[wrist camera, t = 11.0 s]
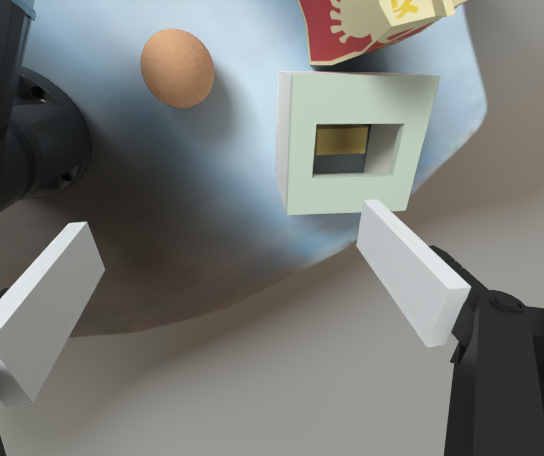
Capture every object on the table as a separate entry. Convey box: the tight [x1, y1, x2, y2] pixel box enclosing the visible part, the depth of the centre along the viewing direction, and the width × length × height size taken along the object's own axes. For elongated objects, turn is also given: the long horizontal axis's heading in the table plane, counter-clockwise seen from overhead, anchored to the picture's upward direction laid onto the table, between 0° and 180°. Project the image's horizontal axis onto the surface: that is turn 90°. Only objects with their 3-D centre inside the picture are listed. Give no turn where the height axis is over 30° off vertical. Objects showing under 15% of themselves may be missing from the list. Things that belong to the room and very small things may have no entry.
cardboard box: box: [314, 124, 368, 155], centre depth 38 cm, size 6×3×6 cm, turn 91°
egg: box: [141, 29, 214, 108], centre depth 31 cm, size 7×7×8 cm
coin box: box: [275, 71, 440, 215], centre depth 35 cm, size 14×14×11 cm
